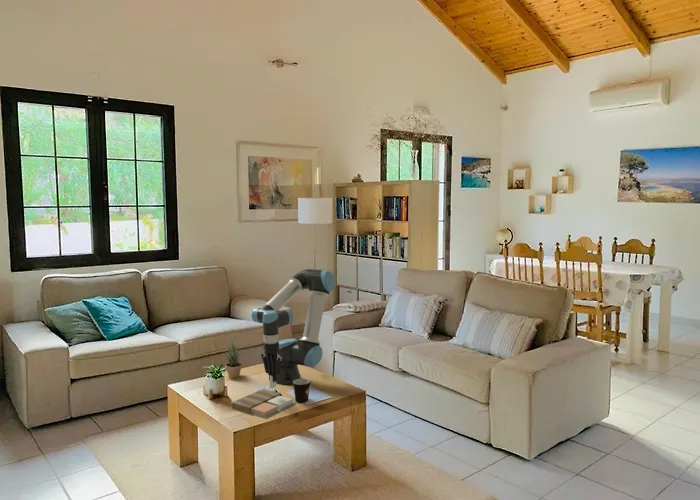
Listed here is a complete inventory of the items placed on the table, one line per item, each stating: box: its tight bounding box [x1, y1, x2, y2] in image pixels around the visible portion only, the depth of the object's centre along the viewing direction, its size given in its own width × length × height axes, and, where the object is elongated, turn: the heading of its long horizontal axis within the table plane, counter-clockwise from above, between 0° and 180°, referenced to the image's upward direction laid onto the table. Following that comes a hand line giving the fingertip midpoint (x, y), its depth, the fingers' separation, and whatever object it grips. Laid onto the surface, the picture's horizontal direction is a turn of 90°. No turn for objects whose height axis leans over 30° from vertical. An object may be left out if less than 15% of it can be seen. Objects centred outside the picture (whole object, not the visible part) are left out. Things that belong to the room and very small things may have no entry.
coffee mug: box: [293, 378, 311, 404], centre depth 277 cm, size 12×9×10 cm
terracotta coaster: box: [251, 402, 278, 416], centre depth 263 cm, size 9×9×2 cm
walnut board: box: [231, 388, 281, 414], centre depth 273 cm, size 22×12×3 cm, turn 146°
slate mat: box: [250, 401, 297, 419], centre depth 267 cm, size 22×10×1 cm, turn 146°
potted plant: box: [224, 334, 243, 379], centre depth 313 cm, size 10×10×25 cm
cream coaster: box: [267, 395, 293, 409], centre depth 271 cm, size 9×9×2 cm
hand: (273, 387), depth 274 cm, fingers closed
